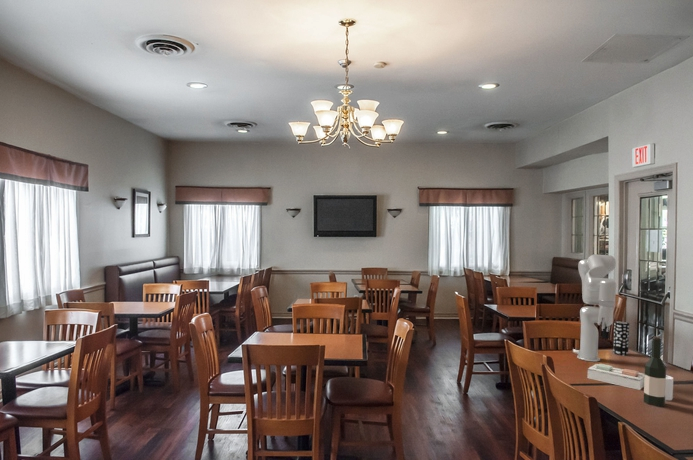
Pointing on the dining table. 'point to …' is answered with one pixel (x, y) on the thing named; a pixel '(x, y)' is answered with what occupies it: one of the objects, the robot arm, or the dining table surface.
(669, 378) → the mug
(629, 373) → the terracotta key
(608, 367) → the sage key
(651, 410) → the dining table surface
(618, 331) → the spotted tube
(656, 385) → the wine bottle
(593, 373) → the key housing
